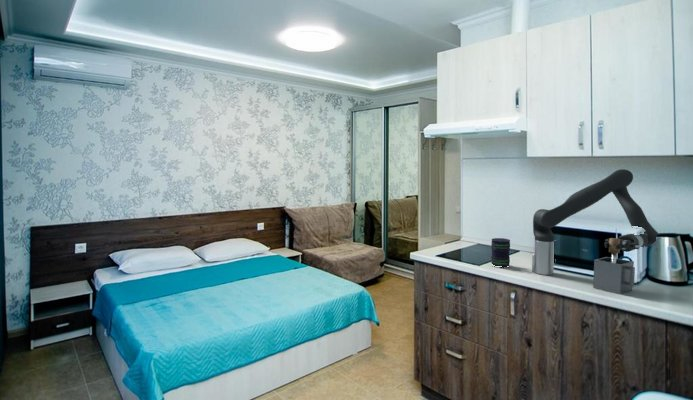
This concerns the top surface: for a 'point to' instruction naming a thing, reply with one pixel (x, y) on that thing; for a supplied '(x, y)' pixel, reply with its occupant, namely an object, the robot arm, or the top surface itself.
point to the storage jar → (500, 252)
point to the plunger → (613, 248)
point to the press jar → (614, 275)
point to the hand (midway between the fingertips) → (611, 246)
